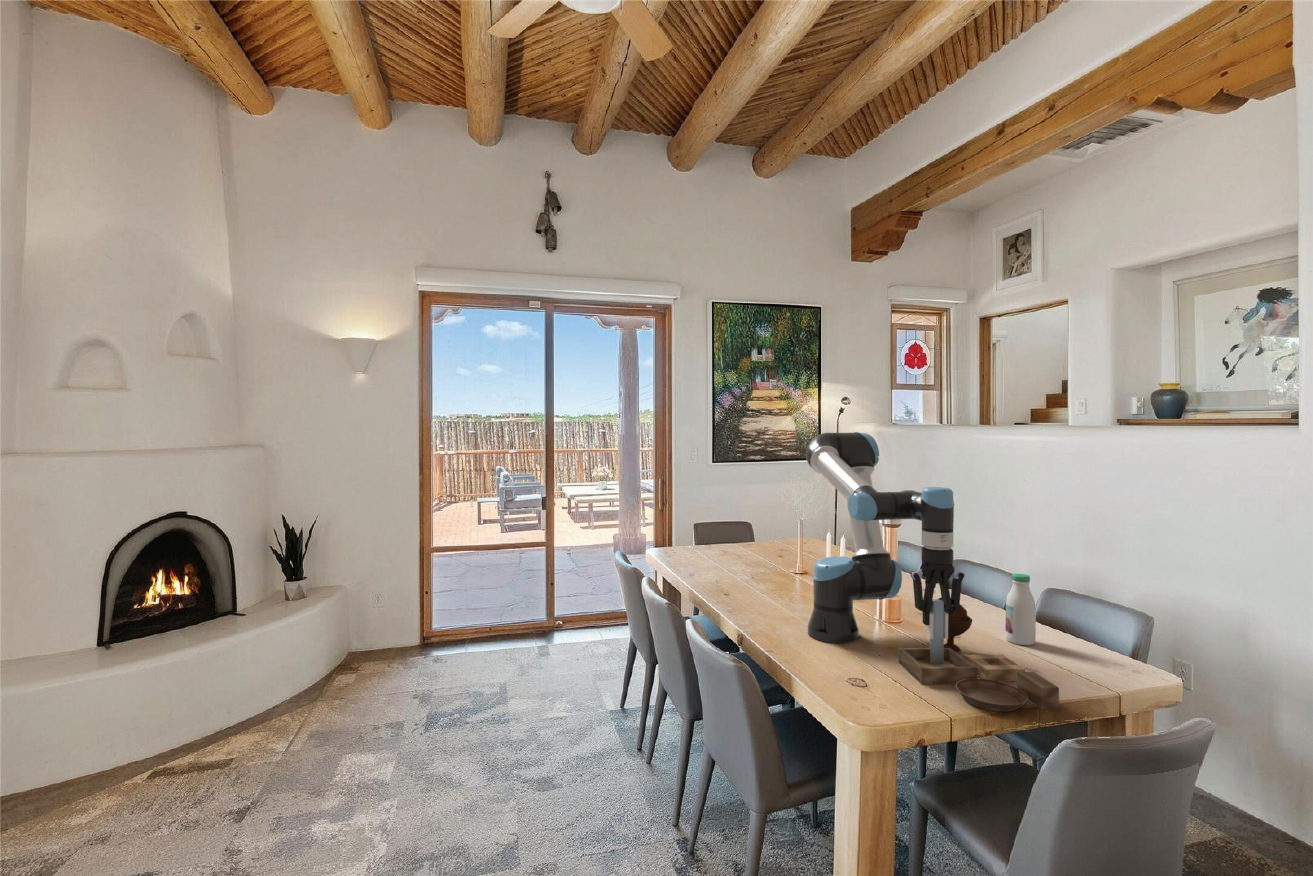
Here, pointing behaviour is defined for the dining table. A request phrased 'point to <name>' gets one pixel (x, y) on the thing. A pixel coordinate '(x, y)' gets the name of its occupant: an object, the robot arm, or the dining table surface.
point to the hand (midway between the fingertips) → (936, 637)
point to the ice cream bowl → (957, 627)
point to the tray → (936, 666)
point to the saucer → (991, 694)
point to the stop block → (1038, 690)
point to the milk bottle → (1020, 612)
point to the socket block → (995, 667)
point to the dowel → (937, 632)
